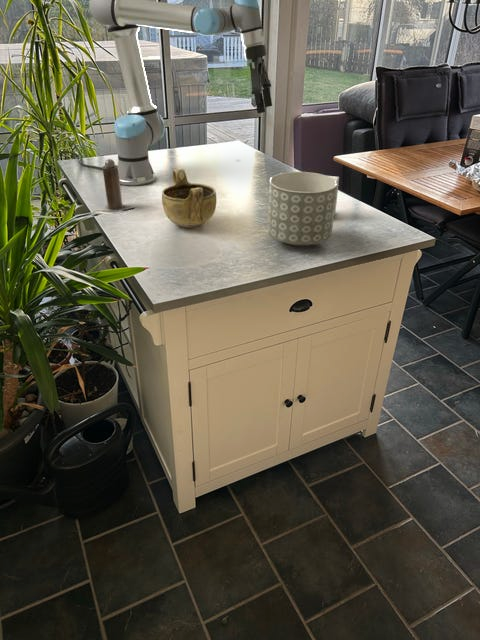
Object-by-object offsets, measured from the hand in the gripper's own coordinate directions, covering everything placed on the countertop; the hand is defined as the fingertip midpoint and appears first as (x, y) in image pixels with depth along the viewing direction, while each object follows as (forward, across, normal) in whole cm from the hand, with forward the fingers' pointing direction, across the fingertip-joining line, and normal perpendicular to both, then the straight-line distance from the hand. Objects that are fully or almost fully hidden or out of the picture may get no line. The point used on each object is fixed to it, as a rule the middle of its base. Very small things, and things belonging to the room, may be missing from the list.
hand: (265, 109), depth 186 cm
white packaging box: (+33, -31, -20) cm, 49 cm away
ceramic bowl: (+24, -50, +20) cm, 58 cm away
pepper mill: (+17, -42, +48) cm, 66 cm away
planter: (+32, -54, -15) cm, 65 cm away
